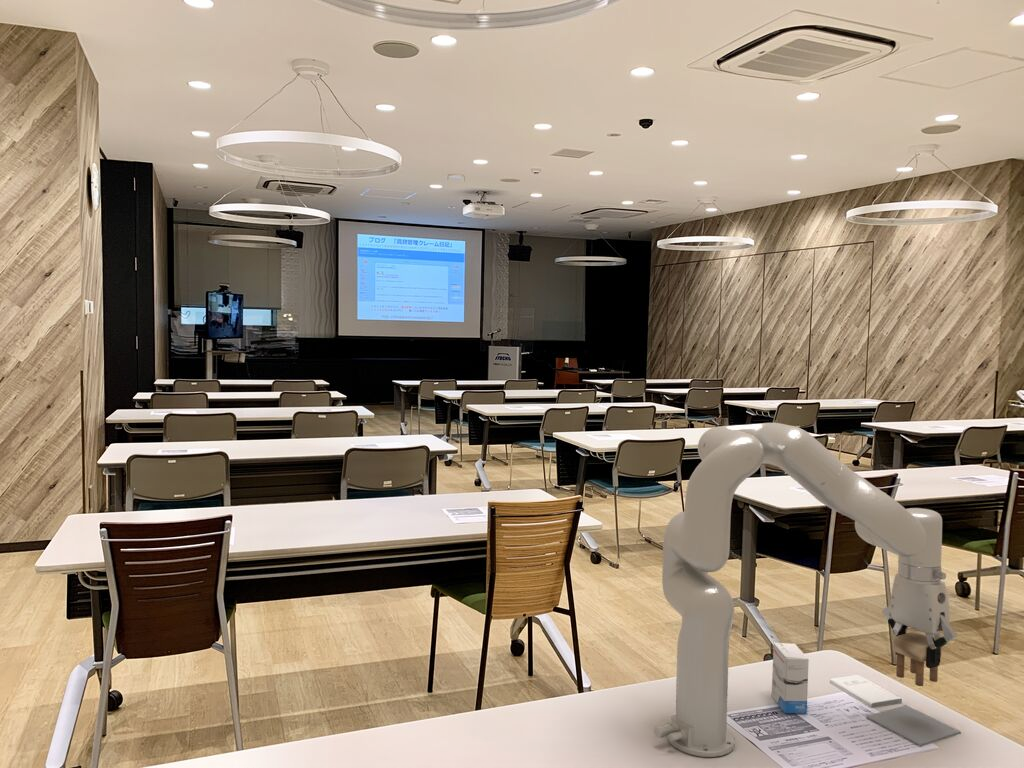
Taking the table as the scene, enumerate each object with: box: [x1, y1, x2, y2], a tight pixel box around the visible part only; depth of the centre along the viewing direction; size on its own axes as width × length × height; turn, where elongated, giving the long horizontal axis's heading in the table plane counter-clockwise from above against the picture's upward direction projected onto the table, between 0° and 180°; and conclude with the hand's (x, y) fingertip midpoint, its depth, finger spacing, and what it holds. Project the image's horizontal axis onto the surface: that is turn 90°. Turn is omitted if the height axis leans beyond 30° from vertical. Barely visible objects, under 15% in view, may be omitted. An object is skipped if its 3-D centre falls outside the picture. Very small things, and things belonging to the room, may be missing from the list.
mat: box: [865, 704, 962, 747], centre depth 151 cm, size 12×12×1 cm
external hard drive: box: [829, 674, 903, 709], centre depth 166 cm, size 2×8×12 cm
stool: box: [893, 631, 943, 687], centre depth 151 cm, size 6×6×8 cm
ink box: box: [771, 642, 810, 715], centre depth 159 cm, size 8×5×12 cm, turn 179°
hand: (917, 659), depth 151 cm, fingers closed on stool, 6 cm apart
